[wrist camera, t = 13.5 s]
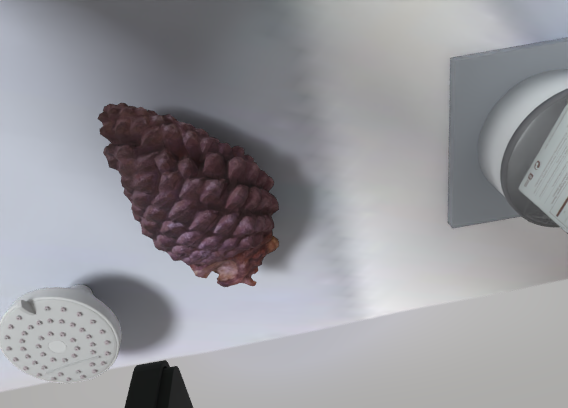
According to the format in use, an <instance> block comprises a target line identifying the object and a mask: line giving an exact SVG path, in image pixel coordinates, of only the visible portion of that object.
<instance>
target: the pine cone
mask: <svg viewBox="0 0 568 408" xmlns="http://www.w3.org/2000/svg"><path fill="white" fill-rule="evenodd" d="M103 111H104V112H103V113H101V114H99V117H98V119H99V120H100V121H101V122H102V123H103V127H102V128H100V134H101V135H102V136H104V137H105V138H107V139H108V140H109V141H110V142H111V143H112V144H111V143H110V144H109V146H106V148H105V149H104V152H103V153H104V155H105V156H106V158H107V160H108V164H109V167H110V168H113V169H116V170H118V171H119V173H120V174H121V176H122V177H121V183H122V187H124V194H125V196H126V197H127V198H128V199H129V200H130V202H131V203H132V211H133V215H134V218H135V220H137V221H139V222H140V224H141V227H142V234H143V235H146V236H148V237H150V238H151V239H153V242H154V245H155V247H156V248H157V249H158V250H162V251H166V252H167V253H168V254H169V255H170V256H171V258H172V259H173V260H174V261H178V260H182V261H183V262H185V263H186V264H187V265H189V266H190V267H191V268H192V270H193V271H194V273H195V275H196V276H198V277H201V278H207V276H208V275H209V274H210V272H211V271H214V272H215V273H217V274H219V277H218V278H217V280H218V282H217V283H218V284H220V285H221V286H223V287H228V286H231V285H235V284H238V283H245V284H248V285H250V286H255V284H256V282H255V281H253V280H252V278H251V275H252V274H255V273H256V272H257V271H258V266H260V265H262V260H263V258H264V257H265V256H266V255H267V254H269V253H271V252H273V251H275V250H276V249H277V247H278V246H279V241H278V239H277V238H275V237H274V236H272V235H273V234H272V229H273V228H274V222H273V220H272V217H271V216H272V214H273V213H275V212H276V211H277V210H279V206H278V202H277V199H276V198H275V196H274V195H272V194H270V193H269V190H270V189H271V188H272V187H273V185H274V181H273V179H272V178H271V177H269V176H268V175H267V174H266V173H265V172H264V171H263V170H260V169H259V167H258V165H257V164H256V163H255V162H254V158H252V157H251V156H249V155H245V154H244V149H243V148H242V147H240V146H235V147H232V148H231V146H230V145H229V144H228V143H220V142H219V140H218V139H216V138H213V137H209V135H208V133H207V132H206V131H204V130H203V129H196V128H195V127H194V126H193V125H192V124H188V123H184V122H179V121H177V120H176V119H175V118H174V117H173V116H171V115H170V114H168V115H163V116H160V115H158V114H157V113H156V112H155V111H150V110H148V111H147V110H146V109H144V108H143V107H139V108H136V107H134V106H128V105H126V104H125V103H120V104H118V105H114V104H109V105H107V106H104V109H103Z"/></svg>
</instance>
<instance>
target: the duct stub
mask: <svg viewBox="0 0 568 408" xmlns="http://www.w3.org/2000/svg"><path fill="white" fill-rule="evenodd" d="M567 103H568V38H562V39H556V40H550V41H545V42H539V43H533V44H528V45H522V46H516V47H510V48H505V49H499V50H493V51H488V52H482V53H476V54H470V55H465V56H459V57H453V58H450V125H449V193H448V223H449V225H450V226H451V227H452V228H458V227H463V226H469V225H475V224H480V223H486V222H492V221H498V220H503V219H509V218H515V217H523V218H524V219H526V220H528V221H529V222H532V223H534V224H537V225H541V226H546V227H560V226H559V225H557V224H556V223H555V222H554V221H553V220H552V219H551V218H550V217H549V216H548V215H547V214H545V213H544V212H543V211H542V210H541V209H540V208H539V207H538V206H537V205H535V204H534V203H533V202H532V201H531V200H530V199H529V198H528V197H526V196H525V195H524V194H523V193H522V192H521V191H520V190H519V186H520V184H521V182H522V180H523V178H524V177H525V175H526V173H527V171H528V170H529V168H530V166H531V164H532V163H533V161H534V159H535V157H536V156H537V154H538V152H539V151H540V149H541V147H542V145H543V144H544V142H545V140H546V139H547V137H548V135H549V133H550V132H551V130H552V128H553V126H554V125H555V123H556V121H557V120H558V118H559V116H560V114H561V113H562V111H563V110H564V108H565V106H566V105H567Z"/></svg>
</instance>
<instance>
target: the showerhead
mask: <svg viewBox="0 0 568 408" xmlns="http://www.w3.org/2000/svg"><path fill="white" fill-rule="evenodd" d="M121 339H122V331H121V326H120V323H119V321H118V319H117V317H116V316H115V314H114V313H113V312H112V311H111V309H110V308H109V307H108V306H106V305H105V304H104V303H103V302H101V301H100V300H98V299H97V298H96V297H95V296H94V295H93V292H92V290H91V289H90V288H89V287H87V286H85V285H74V286H72V287H71V288H60V287H53V288H43V289H38V290H34V291H31V292H29V293H26V294H24V295H23V296H21V297H19V298H18V299H17V300H15V301H14V302H13V303H12V305H11V306H10V307H9V309H8V310H7V312H6V313H5V314H4V316H3V317H2V319H1V321H0V348H1V350H2V352H3V353H4V355H5V357H6V358H7V359H8V360H9V361H10V362H11V363H12V364H13V365H14V366H16V367H17V368H18V369H19V370H21V371H23V372H24V373H26V374H28V375H31V376H33V377H35V378H38V379H41V380H45V381H49V382H56V383H76V382H82V381H86V380H89V379H92V378H95V377H97V376H99V375H101V374H102V373H104V372H105V371H106V370H108V369H109V368H110V367H111V366H112V364H113V363H114V362H115V360H116V358H117V356H118V352H119V348H120V344H121Z"/></svg>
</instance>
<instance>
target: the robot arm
mask: <svg viewBox="0 0 568 408" xmlns="http://www.w3.org/2000/svg"><path fill="white" fill-rule="evenodd" d="M125 408H193V406H192V403H191V400H190V398H189V395H188V392H187V390H186V387H185V384H184V381H183V379H182V376H181V373H180V371H179V368H178V367H177V366H175V367H170V366H169V364H168V362H167V361H166V360H164V361H159V362H153V363H147V364H141V365H137V366H136V367H135V368H134V371H133V375H132V379H131V383H130V387H129V392H128V396H127V400H126V404H125Z"/></svg>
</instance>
